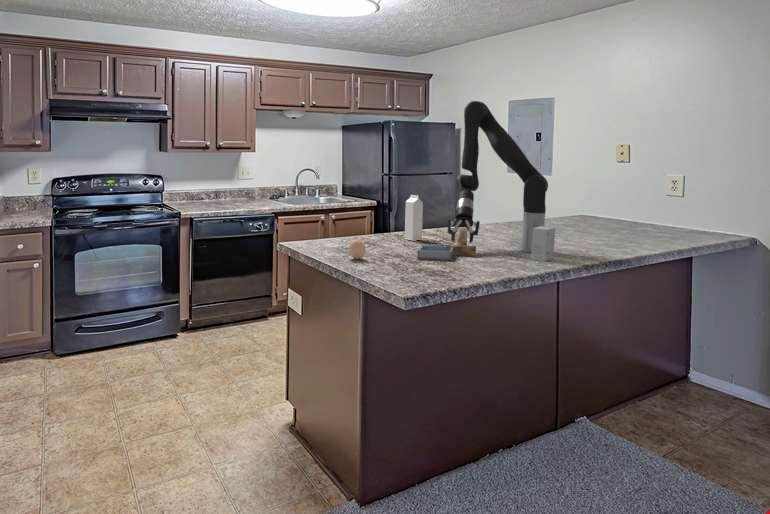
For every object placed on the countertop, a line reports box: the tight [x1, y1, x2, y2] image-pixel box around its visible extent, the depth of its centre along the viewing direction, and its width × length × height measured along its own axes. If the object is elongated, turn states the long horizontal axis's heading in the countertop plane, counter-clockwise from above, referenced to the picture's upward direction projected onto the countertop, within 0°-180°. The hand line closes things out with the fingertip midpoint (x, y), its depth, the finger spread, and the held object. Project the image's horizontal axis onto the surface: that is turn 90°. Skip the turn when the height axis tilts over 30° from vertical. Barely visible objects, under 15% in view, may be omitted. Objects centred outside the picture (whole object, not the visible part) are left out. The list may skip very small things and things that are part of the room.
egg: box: [348, 239, 367, 260], centre depth 225 cm, size 7×7×8 cm
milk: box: [404, 194, 424, 241], centre depth 273 cm, size 6×6×22 cm
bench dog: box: [446, 244, 477, 257], centre depth 238 cm, size 12×3×4 cm, turn 79°
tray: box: [417, 244, 454, 262], centre depth 233 cm, size 13×13×4 cm
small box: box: [530, 225, 556, 262], centre depth 231 cm, size 8×6×13 cm
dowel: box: [456, 227, 468, 246], centre depth 241 cm, size 4×4×11 cm
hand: (462, 241), depth 240 cm, fingers open, 6 cm apart
